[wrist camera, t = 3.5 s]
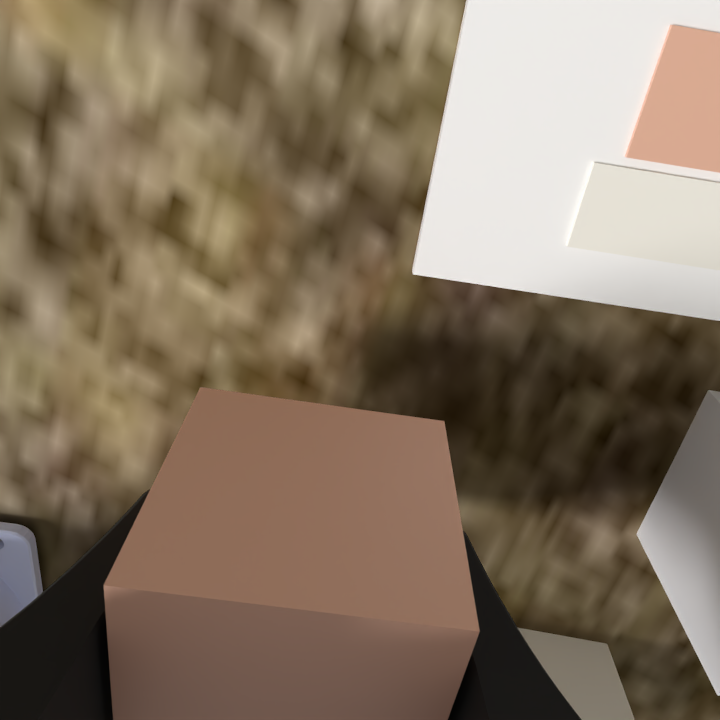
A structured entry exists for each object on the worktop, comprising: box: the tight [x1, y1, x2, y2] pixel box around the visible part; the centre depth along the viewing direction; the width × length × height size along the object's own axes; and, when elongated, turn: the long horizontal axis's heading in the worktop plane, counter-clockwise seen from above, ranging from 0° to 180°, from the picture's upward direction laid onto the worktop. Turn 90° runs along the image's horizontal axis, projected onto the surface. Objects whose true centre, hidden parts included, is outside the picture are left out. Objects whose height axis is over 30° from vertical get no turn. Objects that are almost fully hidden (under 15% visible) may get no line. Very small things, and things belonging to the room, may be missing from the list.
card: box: [412, 0, 720, 321], centre depth 13 cm, size 10×7×1 cm
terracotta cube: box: [103, 387, 480, 720], centre depth 12 cm, size 5×5×5 cm
